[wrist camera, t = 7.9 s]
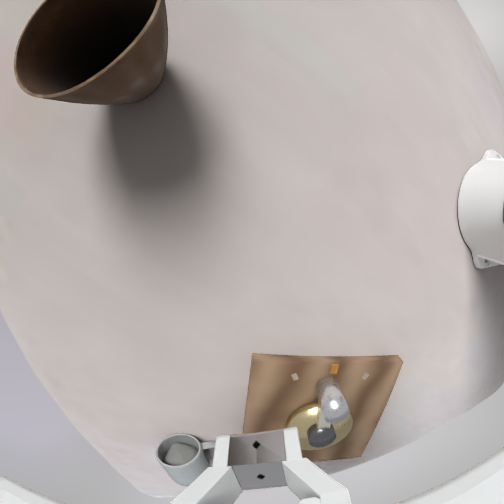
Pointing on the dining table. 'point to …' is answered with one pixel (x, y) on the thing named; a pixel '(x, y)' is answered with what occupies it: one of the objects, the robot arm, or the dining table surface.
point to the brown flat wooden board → (303, 391)
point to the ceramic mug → (183, 457)
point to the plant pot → (93, 51)
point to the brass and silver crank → (322, 417)
